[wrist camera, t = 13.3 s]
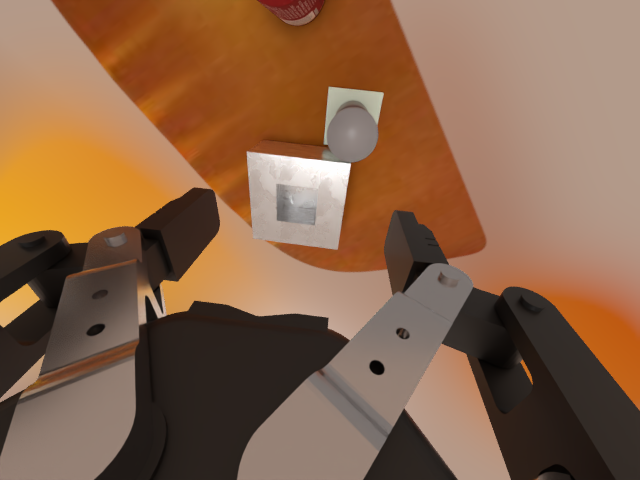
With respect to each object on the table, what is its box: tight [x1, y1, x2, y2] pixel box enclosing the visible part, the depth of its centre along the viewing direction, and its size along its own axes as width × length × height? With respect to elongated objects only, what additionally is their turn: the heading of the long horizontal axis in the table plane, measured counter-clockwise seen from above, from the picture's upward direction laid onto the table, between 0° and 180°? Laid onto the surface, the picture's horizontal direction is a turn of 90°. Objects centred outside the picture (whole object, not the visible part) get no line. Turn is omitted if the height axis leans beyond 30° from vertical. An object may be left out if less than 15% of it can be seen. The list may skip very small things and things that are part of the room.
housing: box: [247, 140, 351, 250], centre depth 37 cm, size 13×13×7 cm
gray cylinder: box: [327, 100, 378, 162], centre depth 29 cm, size 5×5×11 cm
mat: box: [324, 87, 384, 145], centre depth 34 cm, size 7×7×1 cm
